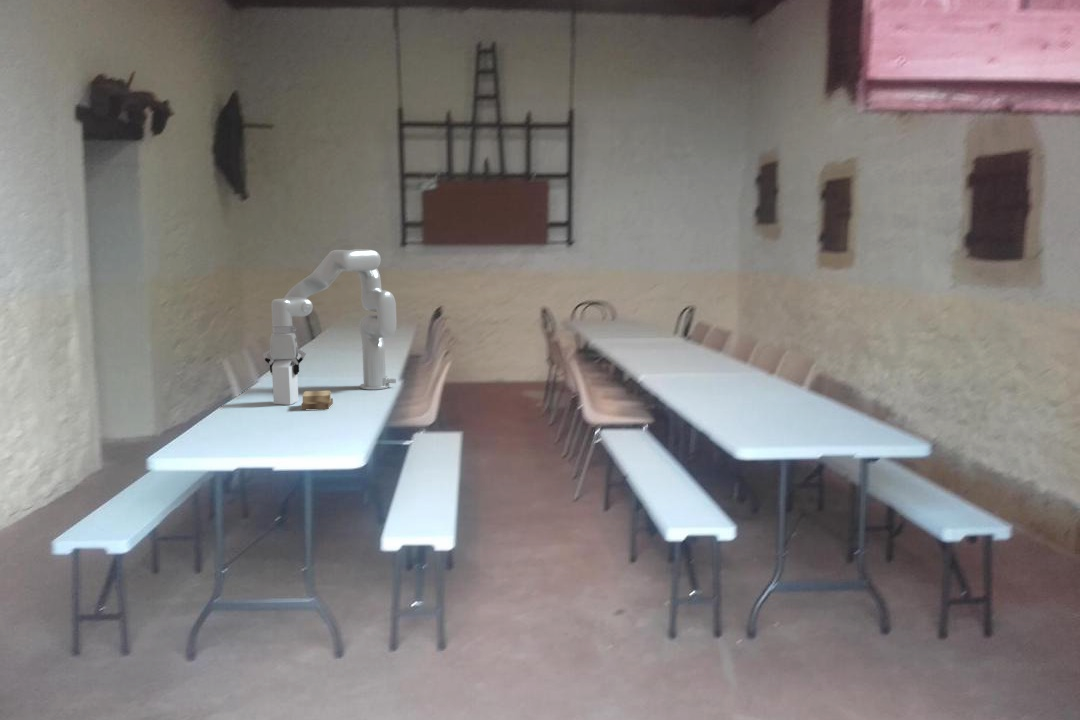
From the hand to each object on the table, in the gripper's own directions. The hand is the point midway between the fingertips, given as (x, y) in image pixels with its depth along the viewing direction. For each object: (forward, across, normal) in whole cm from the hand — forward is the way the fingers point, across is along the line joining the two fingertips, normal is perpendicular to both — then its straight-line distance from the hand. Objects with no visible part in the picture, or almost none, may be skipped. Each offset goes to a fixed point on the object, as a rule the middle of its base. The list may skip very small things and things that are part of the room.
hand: (284, 374), depth 348 cm
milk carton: (+12, 0, 0) cm, 12 cm away
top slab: (+9, -14, +9) cm, 19 cm away
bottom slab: (+12, -14, +9) cm, 21 cm away
